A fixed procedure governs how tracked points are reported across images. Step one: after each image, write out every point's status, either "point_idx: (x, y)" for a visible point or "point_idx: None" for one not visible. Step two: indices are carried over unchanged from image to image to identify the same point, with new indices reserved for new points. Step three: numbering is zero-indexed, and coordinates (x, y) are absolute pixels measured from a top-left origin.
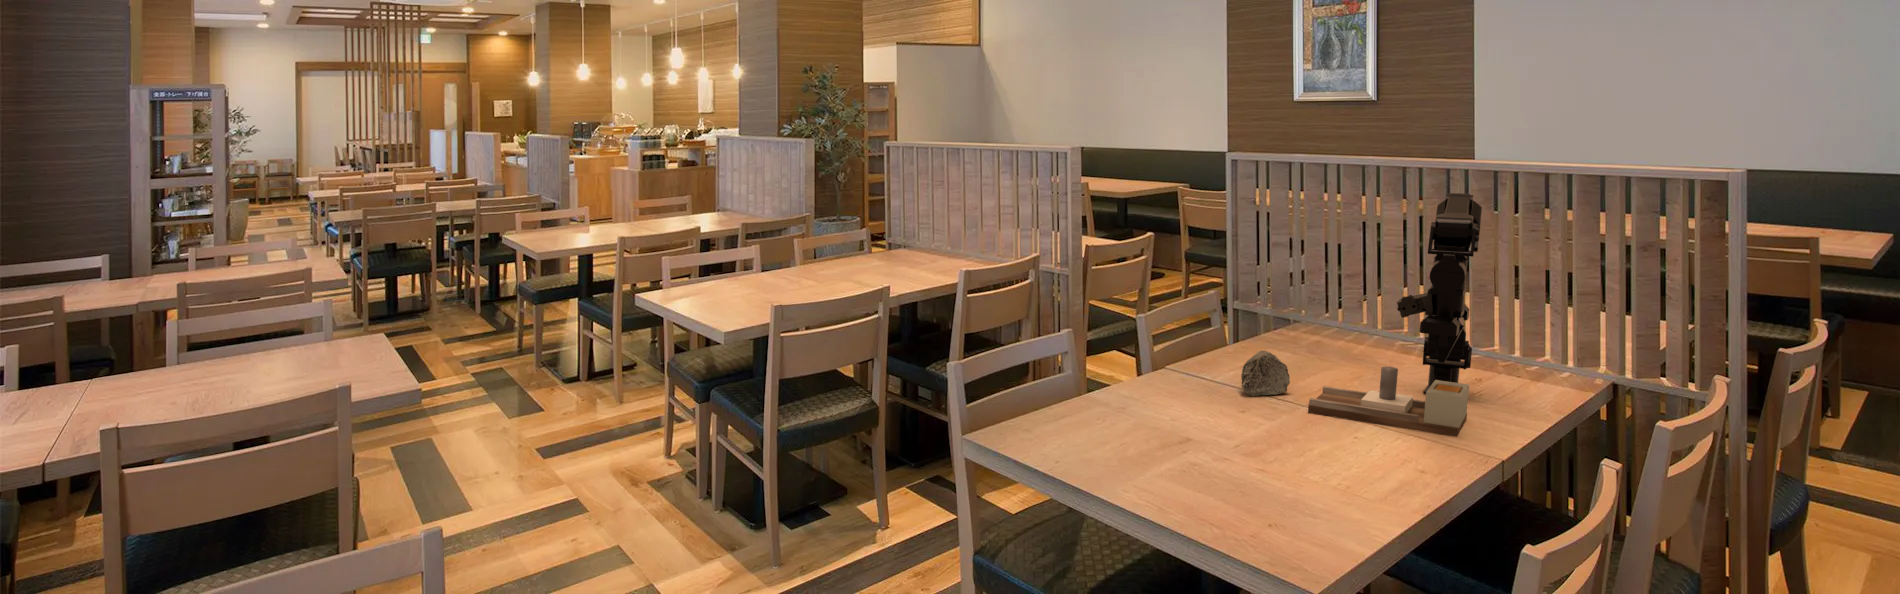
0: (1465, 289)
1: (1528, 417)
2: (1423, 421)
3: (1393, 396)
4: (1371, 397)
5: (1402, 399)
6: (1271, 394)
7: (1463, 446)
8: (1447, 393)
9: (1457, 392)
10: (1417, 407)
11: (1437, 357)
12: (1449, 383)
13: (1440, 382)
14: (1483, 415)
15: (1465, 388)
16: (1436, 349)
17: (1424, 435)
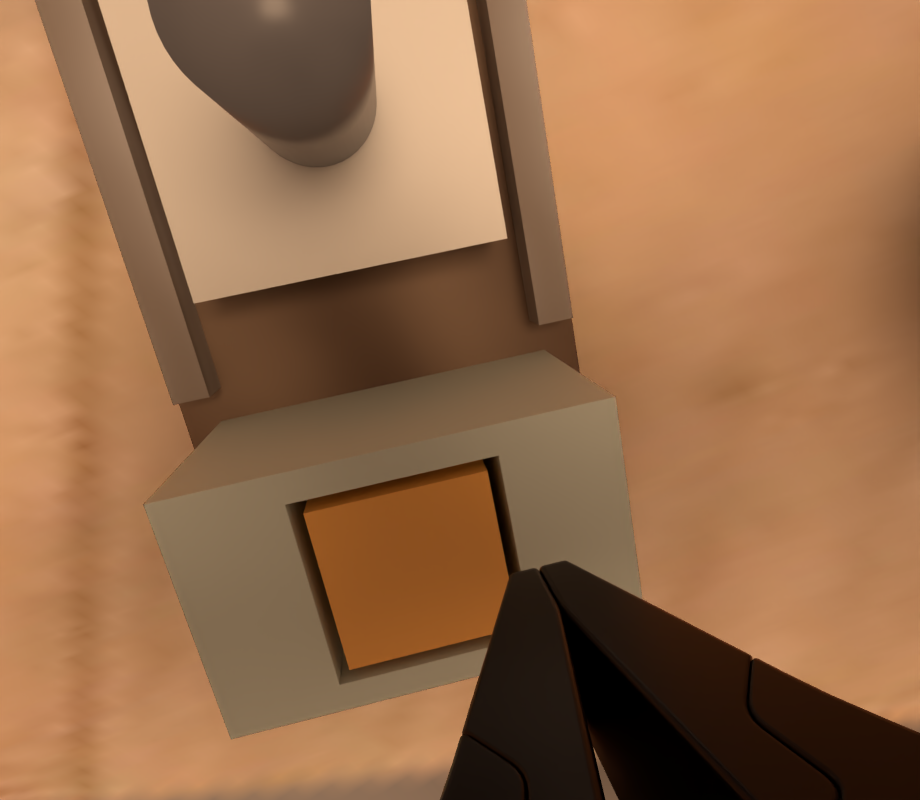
0: None
1: (824, 660)
2: (237, 414)
3: (287, 157)
4: None
5: (362, 212)
6: None
7: (130, 650)
8: (245, 635)
9: (350, 664)
10: (515, 266)
11: (501, 604)
12: (576, 523)
13: (557, 461)
14: (732, 519)
15: None
16: (477, 695)
17: (141, 453)
